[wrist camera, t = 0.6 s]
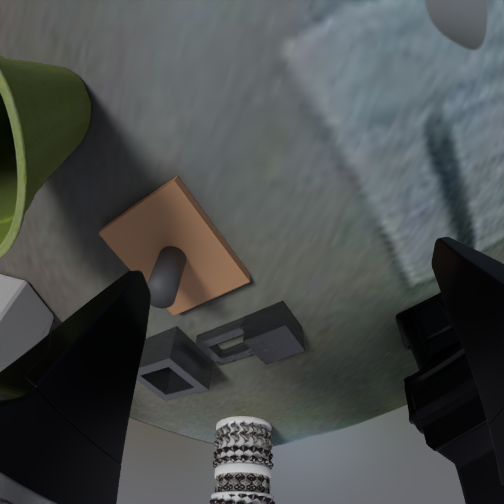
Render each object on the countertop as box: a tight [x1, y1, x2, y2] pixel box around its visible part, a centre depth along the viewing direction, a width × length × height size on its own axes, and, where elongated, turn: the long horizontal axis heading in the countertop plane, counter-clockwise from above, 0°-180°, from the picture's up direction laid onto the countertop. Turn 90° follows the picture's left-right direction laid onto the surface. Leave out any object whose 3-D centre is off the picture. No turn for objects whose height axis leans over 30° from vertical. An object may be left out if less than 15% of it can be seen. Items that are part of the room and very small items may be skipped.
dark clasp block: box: [196, 301, 305, 366], centre depth 29 cm, size 4×10×3 cm, turn 120°
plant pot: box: [0, 56, 91, 258], centre depth 14 cm, size 12×12×11 cm
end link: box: [137, 327, 212, 401], centre depth 31 cm, size 6×6×4 cm
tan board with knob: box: [98, 176, 250, 316], centre depth 23 cm, size 10×8×6 cm
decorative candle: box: [210, 416, 275, 504], centre depth 32 cm, size 9×9×25 cm
